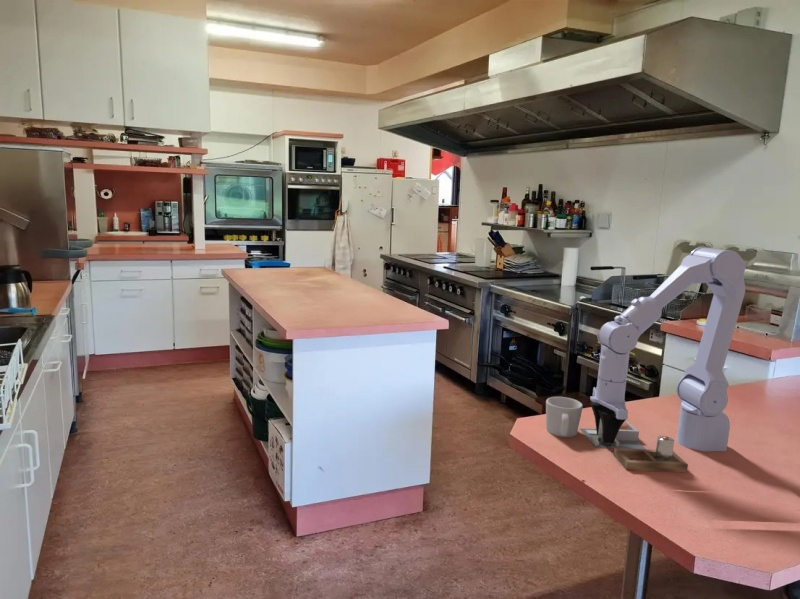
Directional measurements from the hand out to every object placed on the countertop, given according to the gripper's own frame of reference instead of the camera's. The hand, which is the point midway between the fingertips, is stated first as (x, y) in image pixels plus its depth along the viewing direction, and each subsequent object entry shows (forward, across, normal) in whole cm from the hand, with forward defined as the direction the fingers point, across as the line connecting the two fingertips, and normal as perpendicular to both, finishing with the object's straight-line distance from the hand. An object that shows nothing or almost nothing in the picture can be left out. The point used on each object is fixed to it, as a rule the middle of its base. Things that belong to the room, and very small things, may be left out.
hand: (605, 438), depth 125 cm
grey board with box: (+2, -2, +2) cm, 4 cm away
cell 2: (+1, +10, +8) cm, 13 cm away
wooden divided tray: (+2, +10, +6) cm, 11 cm away
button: (0, -5, +5) cm, 7 cm away
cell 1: (+1, 0, 0) cm, 1 cm away
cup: (+2, -4, -8) cm, 9 cm away
